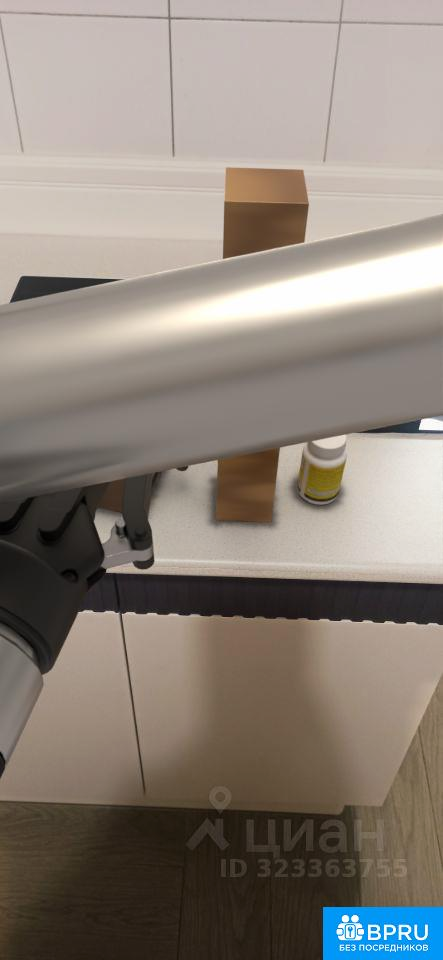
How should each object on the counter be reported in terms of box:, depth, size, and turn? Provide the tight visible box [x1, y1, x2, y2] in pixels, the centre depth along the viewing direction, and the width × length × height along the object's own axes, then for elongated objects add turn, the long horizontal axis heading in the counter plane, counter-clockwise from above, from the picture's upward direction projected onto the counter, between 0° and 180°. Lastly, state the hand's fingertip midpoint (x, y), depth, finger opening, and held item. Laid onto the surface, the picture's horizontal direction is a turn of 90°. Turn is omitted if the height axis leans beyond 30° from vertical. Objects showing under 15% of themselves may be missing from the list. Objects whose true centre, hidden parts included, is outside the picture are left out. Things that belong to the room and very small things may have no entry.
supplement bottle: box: [296, 434, 348, 506], centre depth 73 cm, size 5×5×8 cm
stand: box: [215, 167, 310, 523], centre depth 62 cm, size 6×6×35 cm
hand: (138, 355), depth 47 cm, fingers closed
